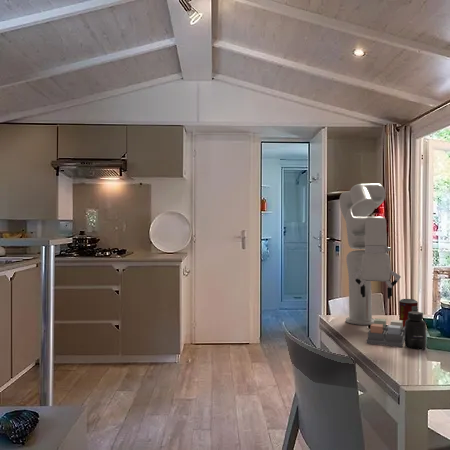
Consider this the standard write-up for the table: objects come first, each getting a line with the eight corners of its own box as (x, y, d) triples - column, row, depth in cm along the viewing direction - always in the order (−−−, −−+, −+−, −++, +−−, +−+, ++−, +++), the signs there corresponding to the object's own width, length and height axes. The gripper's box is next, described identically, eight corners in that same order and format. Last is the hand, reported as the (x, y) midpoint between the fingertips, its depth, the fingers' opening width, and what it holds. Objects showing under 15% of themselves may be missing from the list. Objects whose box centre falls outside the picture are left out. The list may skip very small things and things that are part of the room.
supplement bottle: (417, 350, 148) (416, 315, 148) (400, 345, 154) (400, 311, 154) (430, 347, 151) (430, 313, 151) (413, 343, 157) (413, 309, 157)
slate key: (389, 331, 161) (389, 324, 161) (400, 332, 159) (400, 325, 159) (388, 334, 157) (387, 327, 157) (399, 335, 156) (399, 328, 156)
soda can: (421, 330, 177) (421, 299, 177) (412, 332, 172) (412, 301, 172) (405, 327, 182) (404, 297, 182) (396, 329, 178) (395, 299, 178)
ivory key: (391, 326, 170) (391, 319, 170) (402, 327, 168) (402, 320, 168) (390, 328, 166) (390, 321, 166) (401, 329, 165) (401, 322, 165)
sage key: (375, 324, 173) (375, 318, 173) (386, 325, 171) (386, 319, 171) (374, 326, 169) (374, 320, 169) (385, 327, 167) (385, 321, 167)
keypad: (373, 331, 176) (373, 322, 176) (406, 334, 170) (406, 325, 170) (366, 343, 158) (366, 333, 158) (402, 346, 152) (402, 337, 152)
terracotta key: (372, 330, 164) (371, 323, 164) (383, 331, 162) (383, 324, 162) (370, 332, 160) (370, 325, 160) (382, 333, 158) (382, 326, 158)
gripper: (401, 250, 161) (402, 297, 160) (353, 249, 168) (353, 294, 168) (400, 251, 154) (400, 300, 154) (349, 250, 161) (350, 297, 161)
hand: (376, 297), depth 161 cm, fingers open, 8 cm apart
